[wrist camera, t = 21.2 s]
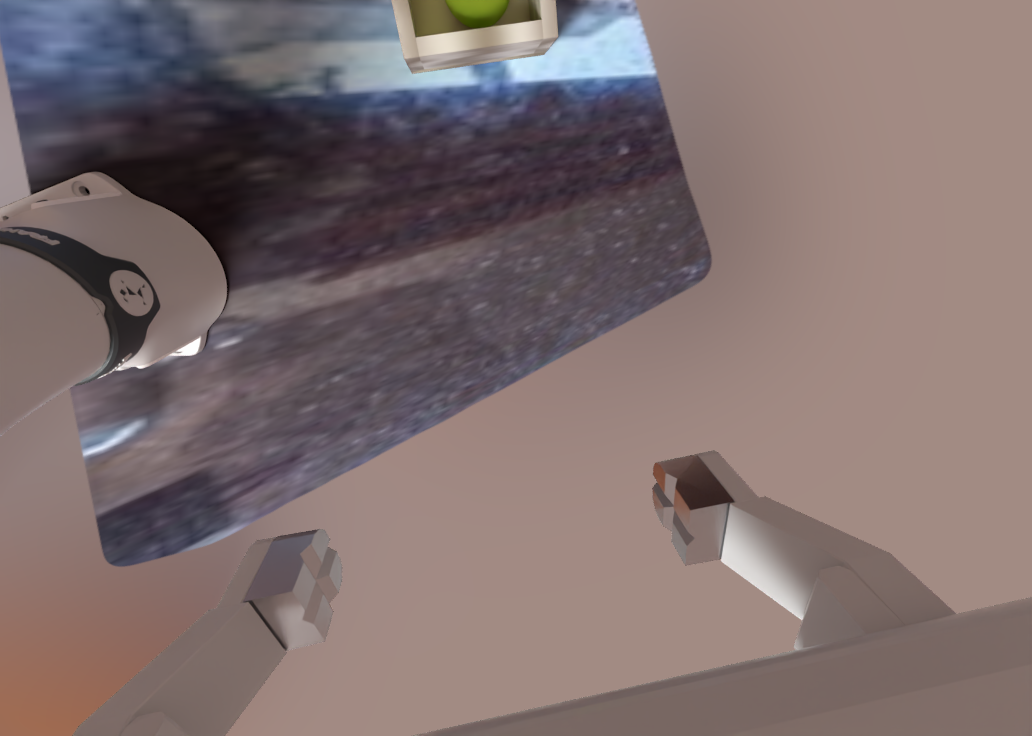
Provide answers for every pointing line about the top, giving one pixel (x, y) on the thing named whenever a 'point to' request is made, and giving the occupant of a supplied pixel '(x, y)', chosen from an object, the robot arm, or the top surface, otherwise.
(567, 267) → the top surface
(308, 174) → the top surface
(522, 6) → the box
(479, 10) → the soap dispenser
